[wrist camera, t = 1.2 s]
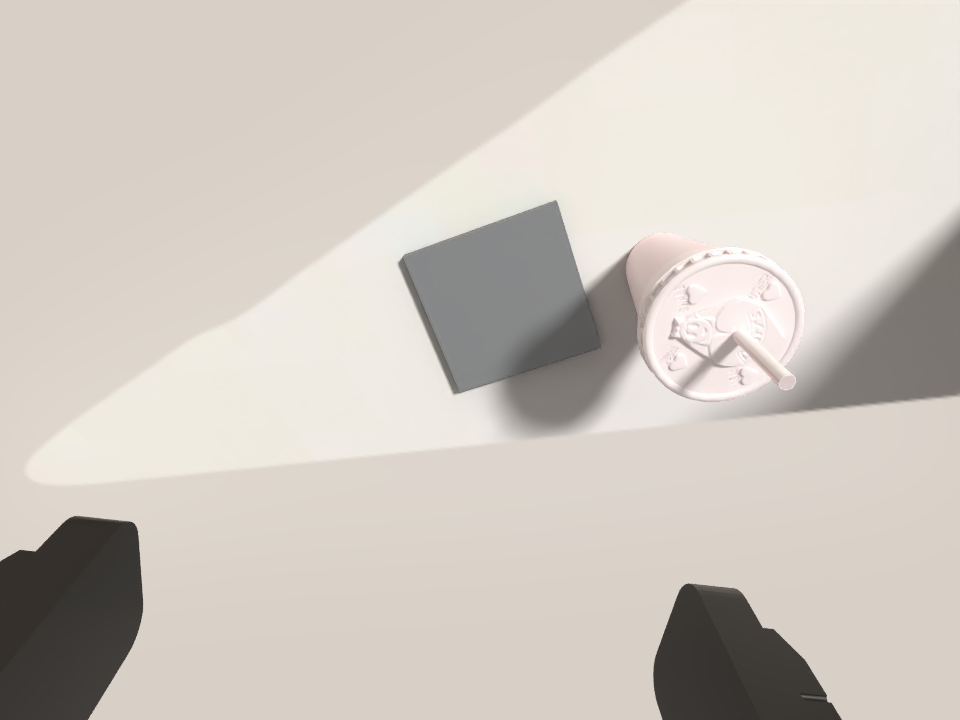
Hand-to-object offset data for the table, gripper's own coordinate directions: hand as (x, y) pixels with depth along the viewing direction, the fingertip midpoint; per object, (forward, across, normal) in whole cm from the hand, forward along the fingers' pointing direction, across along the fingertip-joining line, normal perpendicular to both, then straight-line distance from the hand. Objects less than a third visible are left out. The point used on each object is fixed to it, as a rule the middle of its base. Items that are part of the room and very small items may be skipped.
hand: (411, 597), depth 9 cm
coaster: (+25, -4, +3) cm, 26 cm away
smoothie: (+25, -11, -1) cm, 28 cm away
